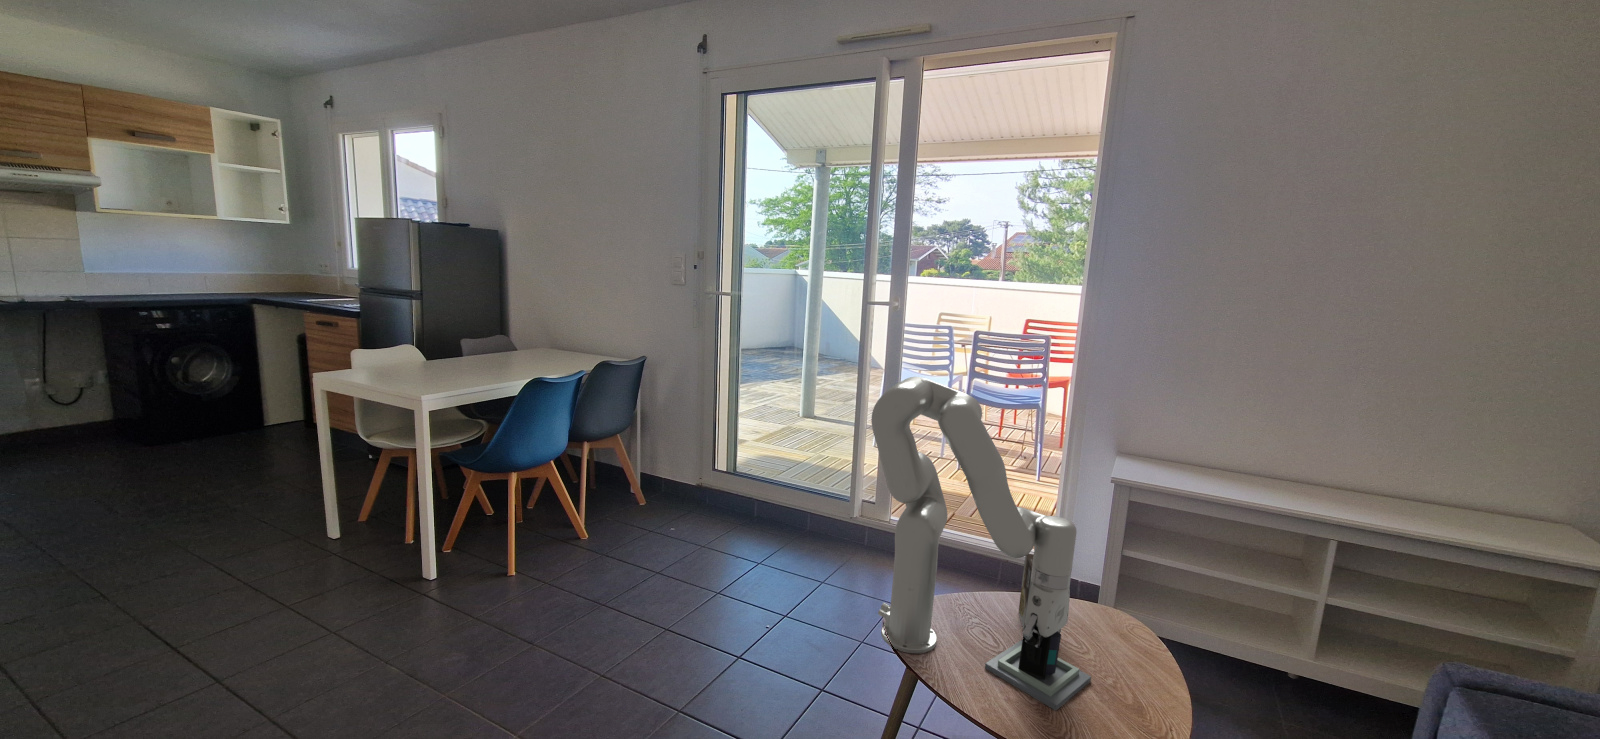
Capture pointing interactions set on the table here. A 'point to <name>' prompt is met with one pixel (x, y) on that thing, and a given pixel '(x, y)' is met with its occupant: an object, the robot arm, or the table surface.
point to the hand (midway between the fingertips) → (1041, 654)
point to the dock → (1046, 691)
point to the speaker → (1047, 656)
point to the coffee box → (1025, 587)
